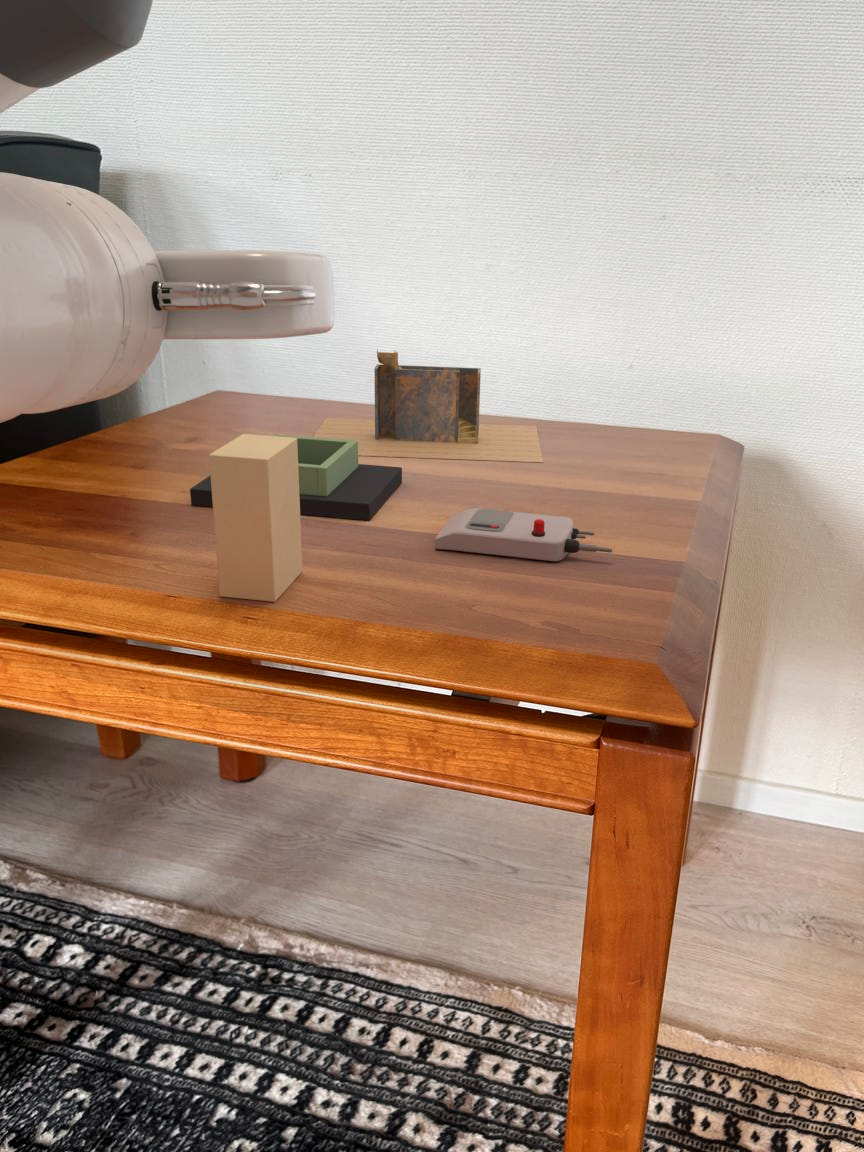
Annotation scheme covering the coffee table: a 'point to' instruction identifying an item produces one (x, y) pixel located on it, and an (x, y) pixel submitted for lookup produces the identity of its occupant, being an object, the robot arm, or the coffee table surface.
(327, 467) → the base pad
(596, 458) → the coffee table surface
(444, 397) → the architectural model on board
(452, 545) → the grey electronic control box
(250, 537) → the tall beige rectangular block
